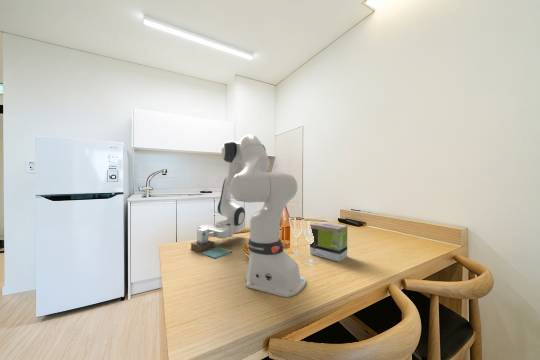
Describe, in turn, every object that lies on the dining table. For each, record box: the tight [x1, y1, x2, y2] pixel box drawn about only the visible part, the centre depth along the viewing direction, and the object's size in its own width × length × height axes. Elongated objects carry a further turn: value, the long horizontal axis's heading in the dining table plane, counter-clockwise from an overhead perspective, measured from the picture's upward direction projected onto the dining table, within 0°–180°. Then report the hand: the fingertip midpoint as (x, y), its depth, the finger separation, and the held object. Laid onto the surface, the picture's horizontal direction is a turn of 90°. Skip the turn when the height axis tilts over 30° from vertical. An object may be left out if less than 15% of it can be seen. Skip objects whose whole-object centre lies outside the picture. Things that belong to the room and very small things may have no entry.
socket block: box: [190, 239, 215, 253], centre depth 105 cm, size 8×8×3 cm
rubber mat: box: [201, 246, 232, 259], centre depth 99 cm, size 10×10×1 cm
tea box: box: [309, 221, 348, 263], centre depth 97 cm, size 15×10×15 cm
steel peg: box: [196, 228, 209, 245], centre depth 105 cm, size 4×4×10 cm
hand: (201, 234), depth 105 cm, fingers open, 5 cm apart
